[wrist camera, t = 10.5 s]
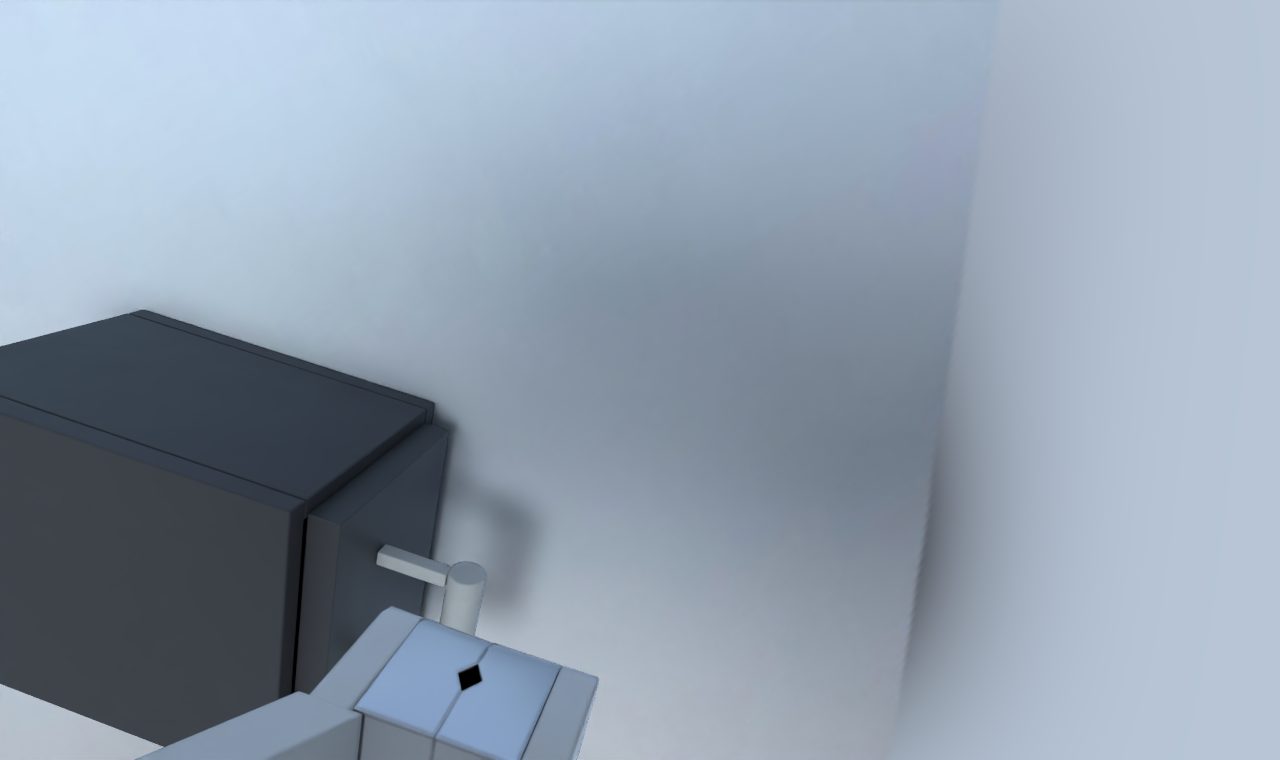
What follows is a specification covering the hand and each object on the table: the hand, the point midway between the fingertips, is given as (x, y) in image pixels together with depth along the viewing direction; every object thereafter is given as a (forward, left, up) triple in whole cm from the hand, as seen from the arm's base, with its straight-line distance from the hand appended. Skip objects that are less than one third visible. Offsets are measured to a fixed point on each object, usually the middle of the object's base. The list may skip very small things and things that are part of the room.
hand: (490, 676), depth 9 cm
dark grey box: (+17, +13, -19) cm, 28 cm away
